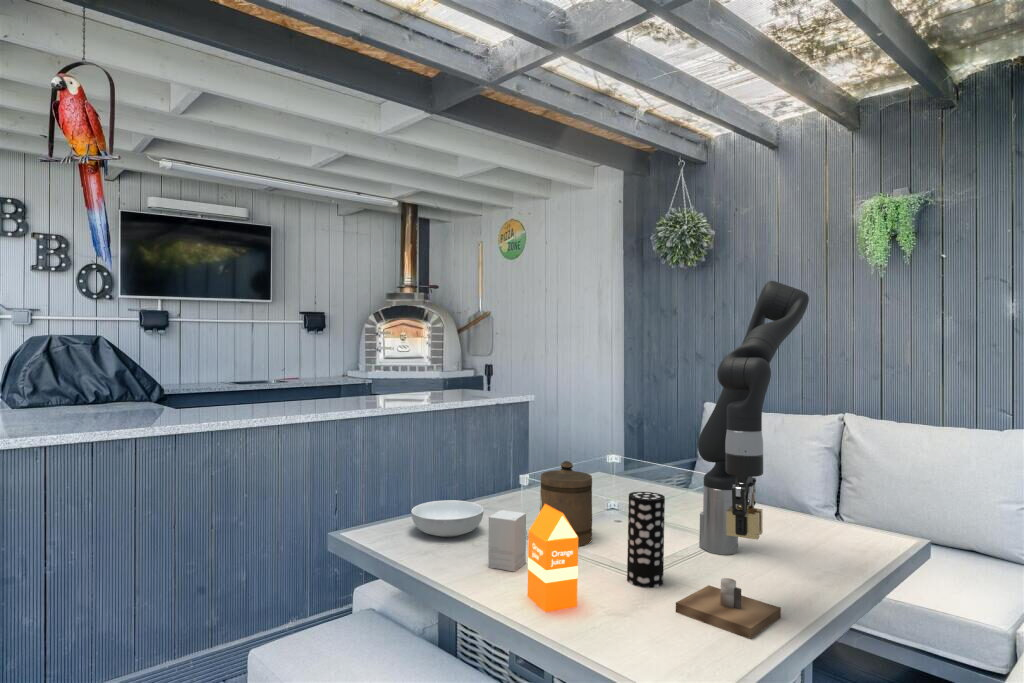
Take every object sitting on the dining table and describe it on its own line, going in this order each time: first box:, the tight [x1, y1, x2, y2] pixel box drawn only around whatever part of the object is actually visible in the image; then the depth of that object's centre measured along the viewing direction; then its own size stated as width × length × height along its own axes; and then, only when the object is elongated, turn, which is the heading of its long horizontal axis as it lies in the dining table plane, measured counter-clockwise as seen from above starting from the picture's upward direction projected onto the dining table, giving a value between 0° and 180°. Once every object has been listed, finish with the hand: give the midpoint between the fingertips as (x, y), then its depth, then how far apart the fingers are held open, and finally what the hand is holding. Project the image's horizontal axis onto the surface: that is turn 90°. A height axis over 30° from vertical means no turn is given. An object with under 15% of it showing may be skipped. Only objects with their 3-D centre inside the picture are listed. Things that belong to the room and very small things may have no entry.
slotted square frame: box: [726, 506, 764, 541], centre depth 133 cm, size 6×6×5 cm
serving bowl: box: [410, 499, 485, 538], centre depth 182 cm, size 21×21×7 cm
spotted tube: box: [626, 491, 666, 589], centre depth 147 cm, size 8×8×20 cm
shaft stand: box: [675, 577, 782, 640], centre depth 130 cm, size 16×14×7 cm
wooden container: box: [539, 460, 593, 548], centre depth 178 cm, size 15×15×22 cm
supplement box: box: [487, 509, 527, 573], centre depth 156 cm, size 7×7×13 cm
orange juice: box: [527, 504, 579, 613], centre depth 135 cm, size 8×9×20 cm
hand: (744, 530), depth 133 cm, fingers closed on slotted square frame, 6 cm apart
